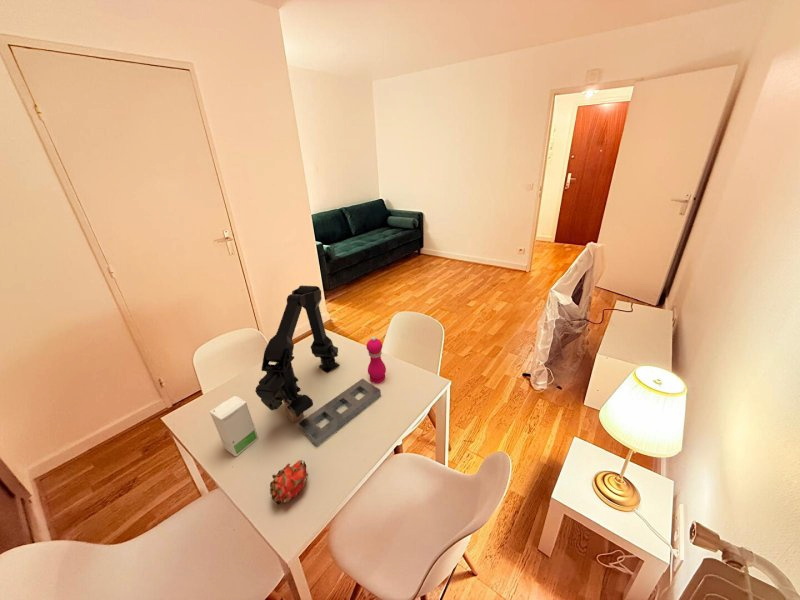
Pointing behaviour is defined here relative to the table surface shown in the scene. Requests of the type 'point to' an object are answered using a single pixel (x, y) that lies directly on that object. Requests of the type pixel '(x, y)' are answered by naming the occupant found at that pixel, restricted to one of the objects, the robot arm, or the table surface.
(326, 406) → the grey peg hole board
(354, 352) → the table surface
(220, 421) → the skincare box
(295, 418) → the walnut peg
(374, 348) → the pepper mill
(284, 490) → the dragon fruit
